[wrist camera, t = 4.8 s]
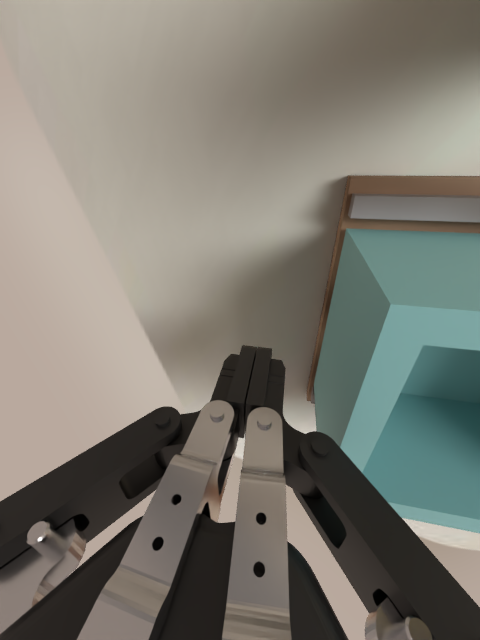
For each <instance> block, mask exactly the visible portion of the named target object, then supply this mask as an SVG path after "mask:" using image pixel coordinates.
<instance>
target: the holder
mask: <svg viewBox="0 0 480 640" xmlns="http://www.w3.org/2000/svg"><path fill="white" fill-rule="evenodd" d="M314 395H315V411H316V428H317V432H321V433H324V434H326V435H328V436H329V437H331V438H332V439H333V440H334V441H335V442H336V443H337V445H338V446H339V447H340V448H341V449H342V450H343V452H344V453H345V454H346V455H347V456H348V457H349V458H350V460H351V461H352V462H353V463H354V464H355V465H356V466H357V468H358V469H359V470H360V471H361V472H362V473H363V474H364V476H365V477H366V478H367V479H368V480H369V481H370V482H371V484H372V485H373V486H374V487H375V488H376V489H377V490H378V492H379V493H380V494H381V495H382V496H383V497H384V499H385V500H386V501H387V502H388V503H389V504H390V505H391V507H392V508H393V509H394V510H395V511H396V512H397V513H398V515H399V516H400V517H401V518H406V519H411V520H416V521H421V522H426V523H431V524H436V525H441V526H446V527H451V528H456V529H461V530H466V531H471V532H476V533H480V233H454V232H428V231H401V230H375V229H348V228H346V232H345V237H344V242H343V247H342V251H341V256H340V261H339V266H338V270H337V275H336V280H335V285H334V290H333V294H332V299H331V304H330V309H329V313H328V318H327V323H326V328H325V333H324V337H323V342H322V347H321V352H320V357H319V361H318V366H317V371H316V376H315V380H314Z"/></svg>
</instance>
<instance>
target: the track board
mask: <svg viewBox="0 0 480 640" xmlns="http://www.w3.org/2000/svg"><path fill="white" fill-rule="evenodd" d="M346 228H348V229H375V230H401V231H428V232H454V233H480V176H351V175H348V179H347V184H346V189H345V194H344V200H343V205H342V210H341V215H340V220H339V226H338V231H337V236H336V241H335V246H334V252H333V257H332V262H331V267H330V272H329V278H328V283H327V288H326V293H325V298H324V304H323V309H322V314H321V319H320V325H319V330H318V335H317V340H316V345H315V351H314V356H313V361H312V366H311V371H310V377H309V382H308V387H307V401H311V403H314V404H315V395H314V380H315V376H316V371H317V366H318V361H319V357H320V352H321V347H322V342H323V337H324V333H325V328H326V323H327V318H328V313H329V309H330V304H331V299H332V294H333V290H334V285H335V280H336V275H337V270H338V266H339V261H340V256H341V251H342V247H343V242H344V237H345V232H346Z"/></svg>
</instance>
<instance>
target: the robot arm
mask: <svg viewBox="0 0 480 640" xmlns="http://www.w3.org/2000/svg"><path fill="white" fill-rule="evenodd" d="M271 357H272V349H271V348H262V347H258V348H257V347H253V346H245V345H243V346H242V348H241V352H240V355H235V354H231V355H230V356H229V357H228V358H227V359H226V360H225V361H224V364H223V367H222V370H221V373H220V376H219V378H218V381H217V384H216V387H215V389H214V392H213V395H212V398H211V400H210V402H209V403H207V404H206V405H205V406H204V407H203V408H202V410H200V411H198V412H194V413H188V414H181V415H180V414H179V412H178V411H177V410H176V409H175V408H172V407H161V408H158V409H156V410H154V411H152V412H151V413H149V414H147V415H146V416H144V417H142V418H141V419H139V420H137V421H136V422H134V423H132V424H130V425H129V426H127V427H125V428H124V429H122V430H120V431H119V432H117V433H115V434H114V435H112V436H110V437H108V438H107V439H105V440H104V441H102V442H100V443H98V444H97V445H95V446H93V447H92V448H90V449H88V450H87V451H85V452H83V453H81V454H80V455H78V456H76V457H75V458H73V459H71V460H70V461H68V462H66V463H65V464H63V465H61V466H60V467H58V468H56V469H54V470H53V471H51V472H49V473H48V474H46V475H44V476H43V477H41V478H39V479H38V480H36V481H34V482H33V483H31V484H29V485H27V486H26V487H24V488H22V489H21V490H19V491H17V492H16V493H14V494H12V495H11V496H9V497H7V498H6V499H4V500H2V501H1V502H0V640H348V638H347V636H346V634H345V632H344V630H343V628H342V626H341V625H340V623H339V621H338V619H337V617H336V615H335V613H334V611H333V609H332V607H331V605H330V603H329V601H328V599H327V597H326V596H325V594H324V592H323V590H322V588H321V586H320V584H319V582H318V580H317V578H316V576H315V574H314V572H313V571H312V569H311V567H310V566H309V564H308V563H307V561H306V560H305V558H304V557H303V556H302V555H301V553H300V552H299V551H298V550H297V549H296V548H295V547H294V546H293V545H292V544H290V543H289V542H288V541H287V513H286V485H288V486H290V487H291V488H293V491H294V493H295V495H296V497H297V498H298V500H299V501H300V503H301V504H302V506H303V508H304V509H305V511H306V512H307V514H308V516H309V517H310V519H311V521H312V522H313V524H314V525H315V527H316V529H317V530H318V532H319V533H320V535H321V537H322V538H323V540H324V541H325V543H326V545H327V546H328V548H329V549H330V551H331V553H332V554H333V556H334V557H335V559H336V561H337V562H338V564H339V566H340V567H341V569H342V570H343V572H344V573H345V575H346V577H347V578H348V580H349V582H350V583H351V585H352V586H353V588H354V589H355V591H356V593H357V594H358V596H359V598H360V599H361V601H362V602H363V604H364V606H365V607H366V609H367V610H368V612H369V615H368V617H367V619H366V623H365V639H366V640H480V607H478V605H477V604H476V603H475V602H474V601H473V599H471V597H470V596H469V595H468V594H467V593H466V591H465V590H464V589H463V588H462V587H461V586H460V585H459V583H458V582H457V581H456V580H455V579H454V578H453V577H452V575H451V574H450V573H449V572H448V571H447V570H446V568H445V567H444V566H443V565H442V564H441V563H440V562H439V561H438V559H437V558H436V557H435V556H434V555H433V554H432V553H431V551H430V550H429V549H428V548H427V547H426V546H425V545H424V544H423V542H422V541H421V540H420V539H419V537H418V536H417V535H416V534H415V533H414V532H413V531H412V529H411V528H410V527H409V526H408V525H407V524H406V523H405V521H404V520H403V519H402V518H401V517H400V516H399V515H398V513H397V512H396V511H395V510H394V509H393V508H392V507H391V505H390V504H389V503H388V502H387V501H386V500H385V499H384V497H383V496H382V495H381V494H380V493H379V492H378V490H377V489H376V488H375V487H374V486H373V485H372V484H371V482H370V481H369V480H368V479H367V478H366V477H365V476H364V474H363V473H362V472H361V471H360V470H359V469H358V468H357V466H356V465H355V464H354V463H353V462H352V461H351V460H350V458H349V457H348V456H347V455H346V454H345V453H344V452H343V450H342V449H341V448H340V447H339V446H338V445H337V443H336V442H335V441H334V440H333V439H332V438H331V437H329V436H328V435H326V434H324V433H321V432H309V433H307V434H304V433H301V432H299V431H297V430H295V429H294V428H292V427H291V426H290V425H289V424H288V423H287V422H286V421H285V419H284V416H283V396H284V381H285V366H284V364H283V362H282V360H276V359H271ZM244 434H245V446H244V456H243V466H242V470H241V476H240V485H239V493H238V503H237V512H236V521H235V522H229V523H217V522H218V518H219V513H220V506H221V501H222V496H223V493H224V490H225V486H226V483H227V479H228V476H229V472H230V469H231V466H232V462H233V459H234V455H235V450H236V446H237V441H238V437H240V438H244ZM156 489H157V490H156ZM155 490H156V492H155V494H154V496H153V498H152V500H151V502H150V504H149V506H148V508H147V510H146V512H145V514H144V516H142V517H140V518H138V519H136V520H135V521H134V522H132V523H130V524H129V525H128V526H127V527H126V528H124V529H123V530H122V531H121V532H120V533H118V534H117V535H116V536H115V537H114V538H113V539H112V540H110V541H109V542H108V543H107V544H106V545H104V546H103V547H102V548H101V549H100V550H98V551H97V552H96V553H95V554H94V555H93V556H92V557H90V558H89V559H88V560H87V561H86V562H84V563H83V564H82V565H81V566H80V567H79V568H77V566H78V565H79V562H80V560H81V559H82V557H83V554H84V552H85V548H86V543H87V542H89V541H90V540H92V539H93V538H94V537H95V536H97V535H98V534H99V533H100V532H102V531H103V530H104V529H106V528H107V527H108V526H110V525H111V524H112V523H114V522H115V521H116V520H117V519H119V518H120V517H121V516H123V515H124V514H125V513H126V512H128V511H129V510H130V509H132V508H133V507H134V506H135V505H137V504H138V503H139V502H140V501H142V500H143V499H144V498H146V497H147V496H148V495H150V494H151V493H152V492H153V491H155ZM76 568H77V569H76ZM75 569H76V570H75ZM74 570H75V571H74ZM72 571H74V572H73V573H71V572H72ZM70 573H71V574H70ZM69 574H70V575H69ZM68 575H69V576H68ZM67 576H68V577H67ZM66 577H67V578H66ZM65 578H66V579H65Z"/></svg>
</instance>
